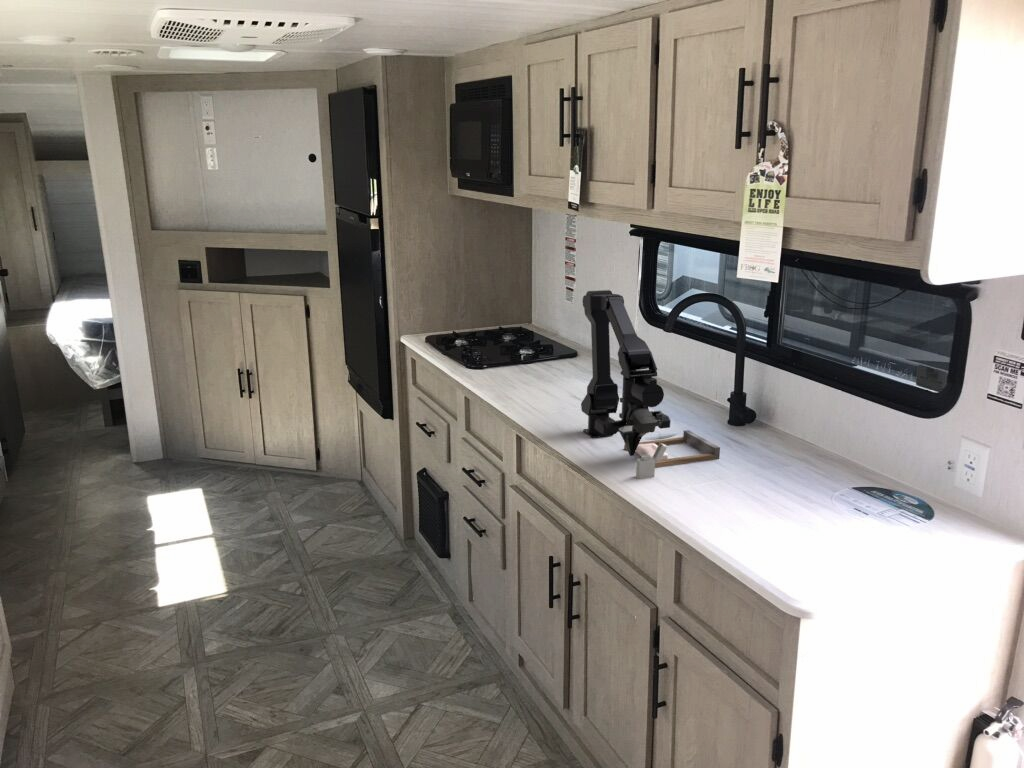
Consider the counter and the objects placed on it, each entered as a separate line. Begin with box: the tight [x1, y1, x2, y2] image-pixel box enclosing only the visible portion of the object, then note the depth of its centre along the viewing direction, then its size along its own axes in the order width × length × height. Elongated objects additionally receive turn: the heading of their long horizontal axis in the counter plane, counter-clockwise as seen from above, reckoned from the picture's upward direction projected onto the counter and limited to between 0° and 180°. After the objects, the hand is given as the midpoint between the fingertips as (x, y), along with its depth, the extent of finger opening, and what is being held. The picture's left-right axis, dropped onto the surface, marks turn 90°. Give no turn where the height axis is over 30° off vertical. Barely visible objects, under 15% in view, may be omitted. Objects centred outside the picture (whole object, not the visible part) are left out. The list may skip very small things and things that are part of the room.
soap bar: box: [635, 443, 669, 461], centre depth 220 cm, size 5×9×2 cm, turn 13°
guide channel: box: [623, 429, 721, 469], centre depth 222 cm, size 15×19×3 cm
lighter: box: [635, 443, 668, 479], centre depth 206 cm, size 7×2×8 cm, turn 107°
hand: (631, 455), depth 218 cm, fingers closed
